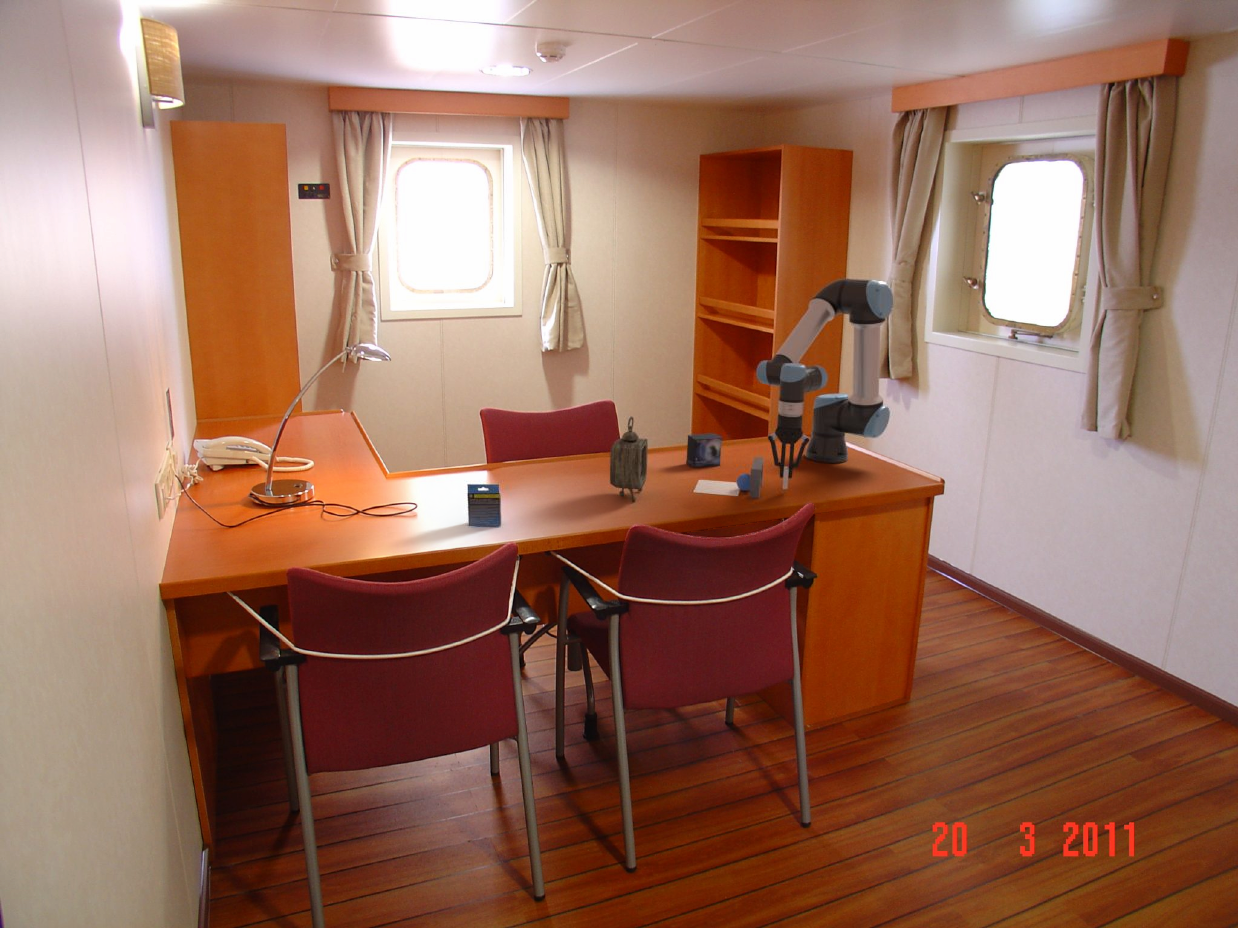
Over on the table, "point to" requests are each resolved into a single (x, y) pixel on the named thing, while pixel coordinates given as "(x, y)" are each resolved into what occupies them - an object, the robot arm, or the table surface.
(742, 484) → the ball
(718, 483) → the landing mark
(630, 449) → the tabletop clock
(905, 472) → the table surface
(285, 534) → the table surface
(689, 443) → the small box
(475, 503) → the label tape cartridge
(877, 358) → the robot arm
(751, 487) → the bridge
